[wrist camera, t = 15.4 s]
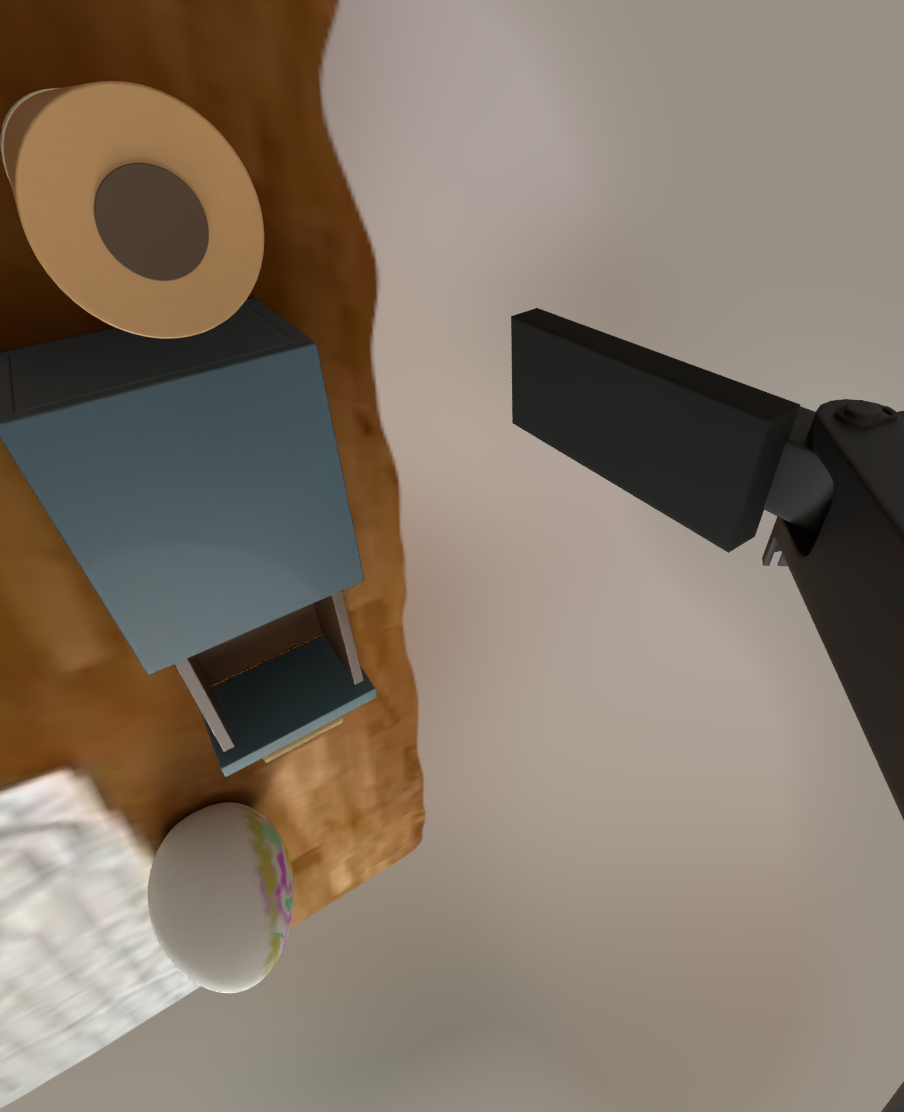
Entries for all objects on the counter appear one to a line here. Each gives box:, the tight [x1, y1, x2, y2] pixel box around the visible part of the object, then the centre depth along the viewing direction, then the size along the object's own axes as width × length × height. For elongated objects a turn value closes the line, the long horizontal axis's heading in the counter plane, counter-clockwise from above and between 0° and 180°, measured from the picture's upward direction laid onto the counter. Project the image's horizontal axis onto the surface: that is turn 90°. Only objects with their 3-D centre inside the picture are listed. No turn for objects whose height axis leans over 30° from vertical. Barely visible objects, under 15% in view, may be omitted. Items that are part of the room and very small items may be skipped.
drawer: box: [174, 591, 377, 777], centre depth 43 cm, size 19×12×8 cm, turn 4°
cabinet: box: [0, 298, 364, 675], centre depth 33 cm, size 16×14×10 cm
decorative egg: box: [148, 802, 294, 993], centre depth 52 cm, size 12×12×15 cm
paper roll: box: [0, 81, 264, 339], centre depth 20 cm, size 5×5×20 cm
